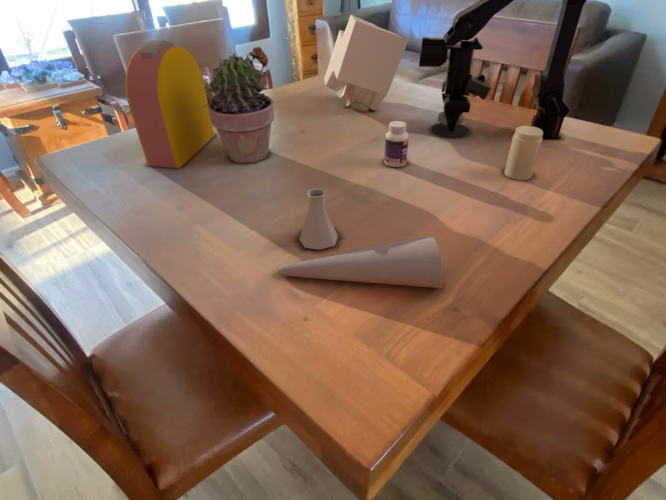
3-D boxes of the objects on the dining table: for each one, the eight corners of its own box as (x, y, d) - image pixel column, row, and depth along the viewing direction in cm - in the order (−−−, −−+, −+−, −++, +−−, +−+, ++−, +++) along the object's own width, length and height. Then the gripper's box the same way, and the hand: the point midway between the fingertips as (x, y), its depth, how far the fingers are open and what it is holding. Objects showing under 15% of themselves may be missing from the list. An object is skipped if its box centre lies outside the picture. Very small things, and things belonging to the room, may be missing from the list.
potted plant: (192, 158, 108) (167, 53, 93) (253, 135, 120) (239, 37, 104) (235, 181, 99) (215, 67, 83) (297, 153, 110) (289, 48, 94)
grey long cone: (269, 285, 63) (444, 261, 62) (272, 249, 70) (431, 226, 68) (280, 320, 68) (443, 298, 67) (283, 283, 75) (431, 262, 73)
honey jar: (526, 167, 100) (538, 124, 94) (535, 180, 96) (548, 135, 89) (500, 168, 101) (511, 125, 94) (508, 180, 96) (520, 136, 89)
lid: (461, 117, 119) (462, 111, 118) (463, 126, 114) (464, 120, 113) (437, 116, 120) (438, 110, 119) (437, 125, 115) (438, 119, 114)
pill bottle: (405, 168, 102) (409, 129, 96) (382, 166, 102) (384, 127, 97) (407, 158, 106) (410, 120, 100) (385, 157, 107) (387, 119, 101)
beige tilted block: (320, 88, 143) (345, 7, 129) (364, 101, 147) (393, 25, 133) (326, 110, 127) (355, 20, 113) (375, 124, 132) (408, 39, 118)
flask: (299, 229, 82) (295, 183, 76) (336, 226, 83) (335, 181, 77) (299, 252, 77) (295, 204, 71) (339, 249, 77) (339, 201, 71)
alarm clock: (186, 132, 122) (161, 31, 106) (215, 134, 121) (194, 31, 105) (146, 165, 106) (109, 51, 90) (179, 168, 104) (148, 52, 88)
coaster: (465, 124, 122) (466, 122, 122) (470, 138, 114) (470, 136, 114) (430, 123, 123) (430, 122, 123) (432, 137, 116) (432, 135, 115)
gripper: (497, 78, 100) (484, 141, 110) (487, 58, 115) (477, 115, 124) (448, 77, 102) (440, 139, 111) (445, 57, 116) (438, 114, 126)
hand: (450, 126), depth 118 cm, fingers closed on lid, 6 cm apart
